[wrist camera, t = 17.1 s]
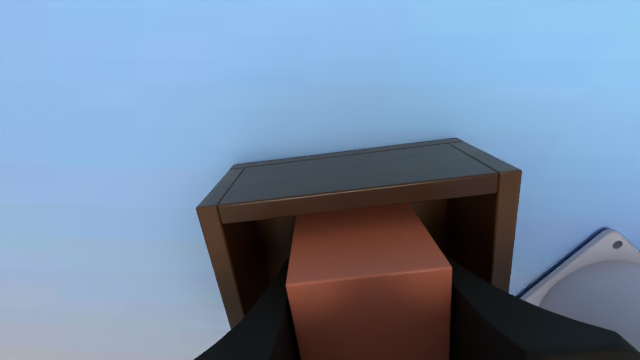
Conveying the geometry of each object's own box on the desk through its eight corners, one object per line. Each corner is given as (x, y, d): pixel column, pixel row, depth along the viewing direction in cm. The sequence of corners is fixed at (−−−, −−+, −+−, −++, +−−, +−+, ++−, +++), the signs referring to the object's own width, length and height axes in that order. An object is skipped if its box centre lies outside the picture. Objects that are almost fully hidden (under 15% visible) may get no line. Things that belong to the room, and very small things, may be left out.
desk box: (233, 164, 16) (194, 208, 11) (457, 137, 15) (523, 170, 10) (269, 321, 19) (253, 407, 14) (451, 302, 19) (499, 385, 14)
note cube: (296, 211, 14) (284, 285, 9) (406, 198, 14) (453, 267, 9) (310, 299, 15) (307, 399, 11) (408, 288, 15) (449, 386, 11)
